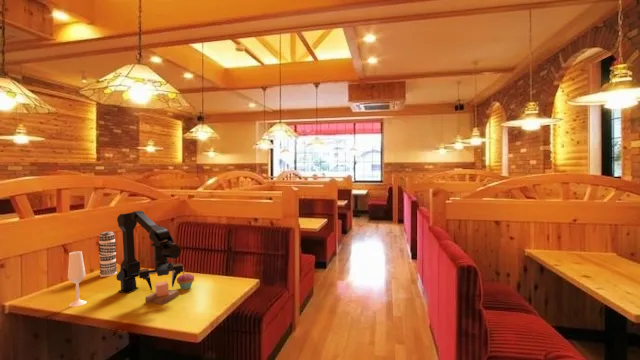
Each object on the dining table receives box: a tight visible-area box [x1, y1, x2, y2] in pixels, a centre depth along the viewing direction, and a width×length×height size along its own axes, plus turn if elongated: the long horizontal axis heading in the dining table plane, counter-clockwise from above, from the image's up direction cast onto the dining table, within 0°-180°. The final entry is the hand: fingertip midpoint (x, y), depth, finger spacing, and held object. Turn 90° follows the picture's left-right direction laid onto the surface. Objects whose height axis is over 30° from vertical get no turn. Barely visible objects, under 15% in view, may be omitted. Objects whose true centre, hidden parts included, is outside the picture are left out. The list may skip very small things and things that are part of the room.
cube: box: [155, 280, 169, 297], centre depth 159 cm, size 5×5×5 cm
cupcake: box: [176, 267, 195, 290], centre depth 174 cm, size 9×8×12 cm
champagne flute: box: [67, 250, 88, 308], centre depth 155 cm, size 7×7×24 cm
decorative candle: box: [97, 230, 118, 278], centre depth 197 cm, size 9×9×25 cm
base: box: [145, 289, 179, 305], centre depth 160 cm, size 10×10×2 cm
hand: (162, 288), depth 160 cm, fingers open, 9 cm apart
